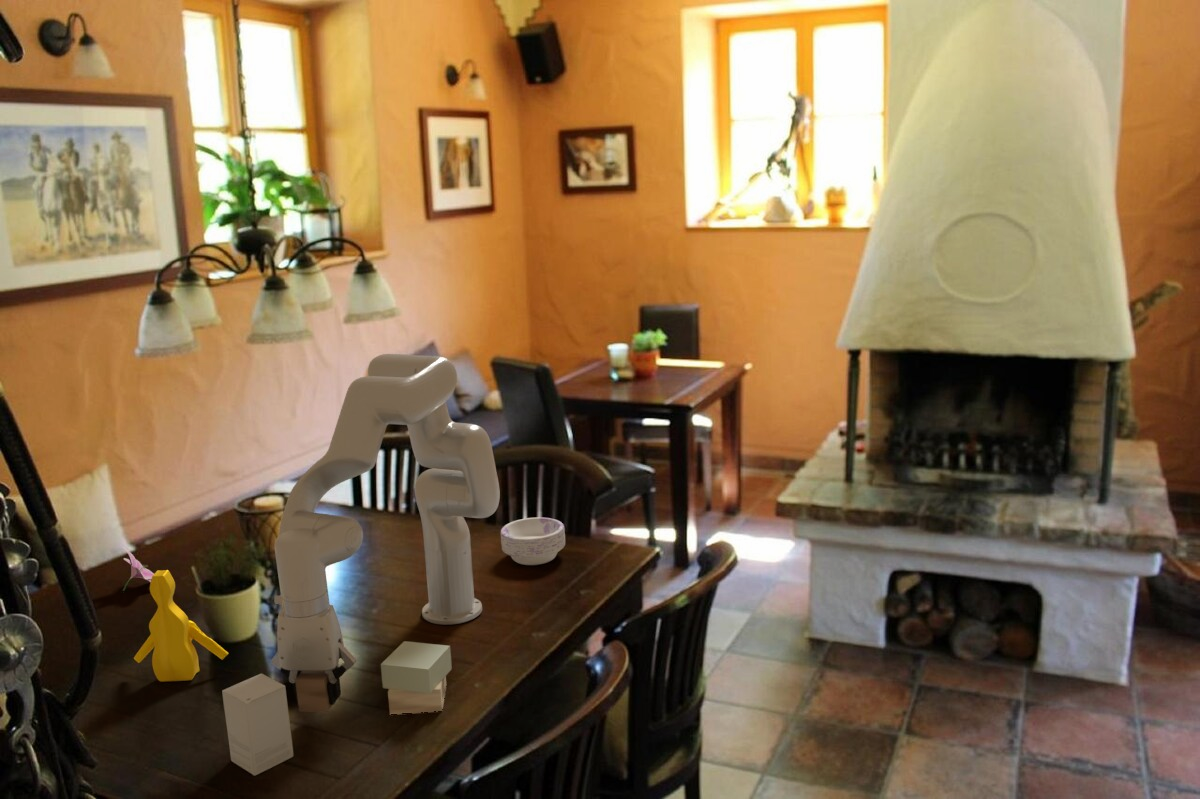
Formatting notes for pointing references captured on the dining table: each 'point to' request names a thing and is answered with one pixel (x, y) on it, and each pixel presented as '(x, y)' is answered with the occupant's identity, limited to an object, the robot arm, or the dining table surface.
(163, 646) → the figure statuette
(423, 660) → the top block
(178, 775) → the dining table surface
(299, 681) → the walnut block
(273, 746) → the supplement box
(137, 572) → the lily
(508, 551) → the paper bowls
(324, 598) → the robot arm
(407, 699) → the base block
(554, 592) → the dining table surface
